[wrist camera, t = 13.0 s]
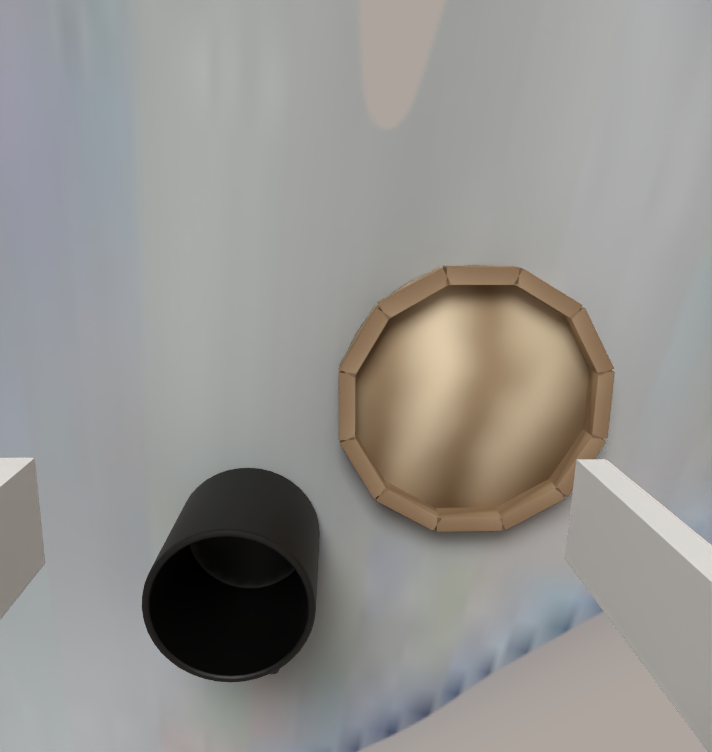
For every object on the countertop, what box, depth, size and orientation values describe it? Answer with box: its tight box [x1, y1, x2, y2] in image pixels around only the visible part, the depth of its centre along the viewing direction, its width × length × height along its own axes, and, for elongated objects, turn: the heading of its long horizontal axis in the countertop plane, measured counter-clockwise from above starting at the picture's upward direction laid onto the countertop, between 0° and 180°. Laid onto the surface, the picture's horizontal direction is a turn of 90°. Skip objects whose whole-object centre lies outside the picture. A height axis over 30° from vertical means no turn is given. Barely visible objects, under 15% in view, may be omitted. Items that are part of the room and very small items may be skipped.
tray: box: [339, 265, 615, 532], centre depth 40 cm, size 17×17×2 cm
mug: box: [142, 468, 319, 682], centre depth 39 cm, size 9×12×9 cm
